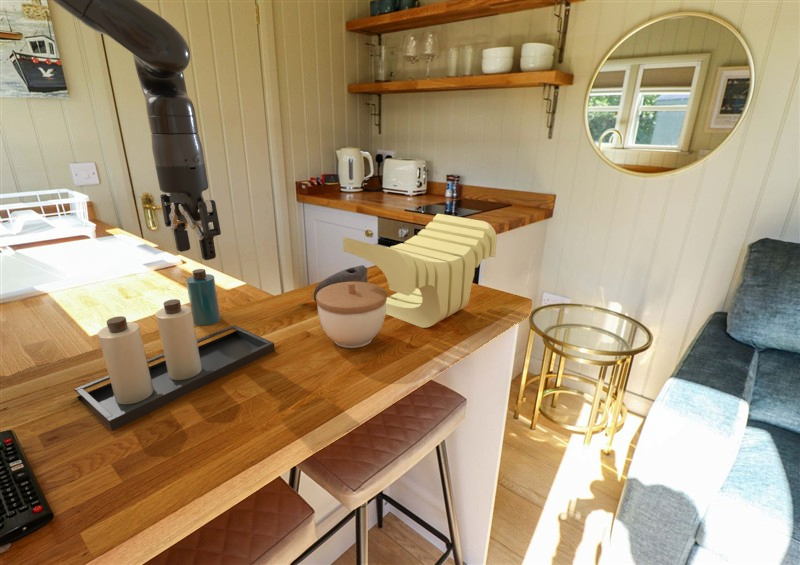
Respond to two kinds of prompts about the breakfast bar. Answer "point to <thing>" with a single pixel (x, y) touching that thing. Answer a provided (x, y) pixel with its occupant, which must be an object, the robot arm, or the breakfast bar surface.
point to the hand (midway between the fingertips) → (196, 254)
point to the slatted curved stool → (431, 267)
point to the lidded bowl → (351, 312)
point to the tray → (215, 364)
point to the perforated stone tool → (344, 278)
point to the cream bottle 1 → (125, 360)
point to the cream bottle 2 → (178, 340)
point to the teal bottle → (203, 298)
